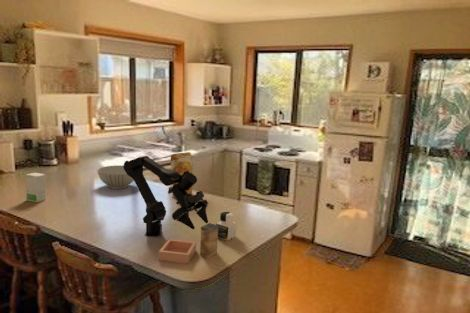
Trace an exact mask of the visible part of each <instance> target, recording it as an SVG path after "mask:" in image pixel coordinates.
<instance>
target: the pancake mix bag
mask: <svg viewBox="0 0 470 313" xmlns="http://www.w3.org/2000/svg"><path fill="white" fill-rule="evenodd" d="M192 157H193V156H192V153H191V152H189V151H187V152H180V153H179V152H178V153H177V152H176V153H173V154H171V155H170V165H171V166H170V167H171V170H174V171H176V172H178V173H179V174H180V175H183V173H184V172H185V171H189V173H192V174H193V175H194V167H193V158H192ZM176 184H178V183H176ZM173 185H175V184H173ZM173 185H172V186H173ZM186 191H187V192H188V194H190V193H191V194H192V195H193V186H192V187H191V188H190V189H189V190H186ZM172 198H175V196H174V195H173V194H172Z"/></svg>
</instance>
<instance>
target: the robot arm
mask: <svg viewBox="0 0 470 313" xmlns="http://www.w3.org/2000/svg"><path fill="white" fill-rule="evenodd" d="M123 168H124V170H125V172H126V173H127V175H129V176H130V177H131V178H133V179H134V181H133V182H134V183H135V185H136V187H137V189H138V191H139V193H140V194H141V195H140V196H141V197H142V199H143V201H144V203H145V205H146V206H145V213H146V214H145V215H144V217H143V218H142V221H143V223H145V225H146V226H145V233H144V236H147V237H155V238H156V237H157V238H158V237H159V236H160V235H161V234H162V233H163V224H162V221H164V219H165V217H166V213H167V210H166V206H165V205H164V203H163V201H162V200H160V201H158V200H157V199H156V197H155V195H154V194H153V192H152V189H151V188H150V185H149V184H148V182H147V179H146V177H145V175H144V168H145V169H146V170H148V171H149V172H151V173H153V174H154V175H156V176H157V177H158V179H159V181H160V182H161V183H162V184H163V185H164V186H166V187H168V191H167V194H168V195H170V194H172V196H173V195H174V196H175V197H174V198H175V200H176V205H179V206H180V207H178V208H177V209H175V211H174V212H173V213H171V217H172V220H173V221H176V222H179V223H181V224H183V225H185V226H187V227H188V228H190V229H192V230H196V228H195V227H196V226H195V225H194V223H193V221H192V219H191V217H190V214H189V213H190V212H193V211H195V212H196V215H198V217H199V218H200V219H202V220H201V221H203V222H204V223H205V224H209V219H208V216H207V208H208V204H209V202H208V201H207V199H204V197H205V193H204V192H203V191H202V190H199V191H196V192H195V194H193V193H192V194H191V193H190V194H188V192H187V191H186V190H189V189H190V188H191V187H192V188H193V186H195V184H196V183H197V182H198V178H197V176H196V175H195V174H194V173H193V174H192V173H189V171H185V172H184V173H183V175H180V174H179V173H178V172H176V171H174V170H172V168H171V169H170V168H166V167H164V166H162V165H161V164H160V163H158V162H156V161H155V160H153V158H150V157H149V155H141V156H138V157H137V158H134V159H129V160H124V163H123ZM176 183H178V184H176ZM173 184H175V185H173Z"/></svg>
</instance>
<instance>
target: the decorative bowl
mask: <svg viewBox="0 0 470 313" xmlns="http://www.w3.org/2000/svg"><path fill="white" fill-rule="evenodd" d="M123 165H124V164H123ZM123 165H122V164H120V165H119V164H117V165H107V166H102V167H98V168H97V169H96V171H97V175H98V178H99V179H100V180H101V182H102V183H104V185H107V186H108V188H109V189H112V190H122V188H123V189H126V188H128V186H129V185H131V184H132V183H133V182H135V181H134V179H133V178H131V177H130V176H129V175H127V173H126V172H125V170H124V168H123Z"/></svg>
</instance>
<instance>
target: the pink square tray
mask: <svg viewBox="0 0 470 313" xmlns="http://www.w3.org/2000/svg"><path fill="white" fill-rule="evenodd" d="M196 251H197V242H195V241H188V240H180V239H179V240H178V239H171V238H169V239H168V240H166V241H165V243H164V244H163V245H162V247H161V248H160V249H159V250H158V261H160V262H168V263H175V264H183V265H189V264H190V262H191V260H192V259H193V257H194V255H195V254H196Z"/></svg>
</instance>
